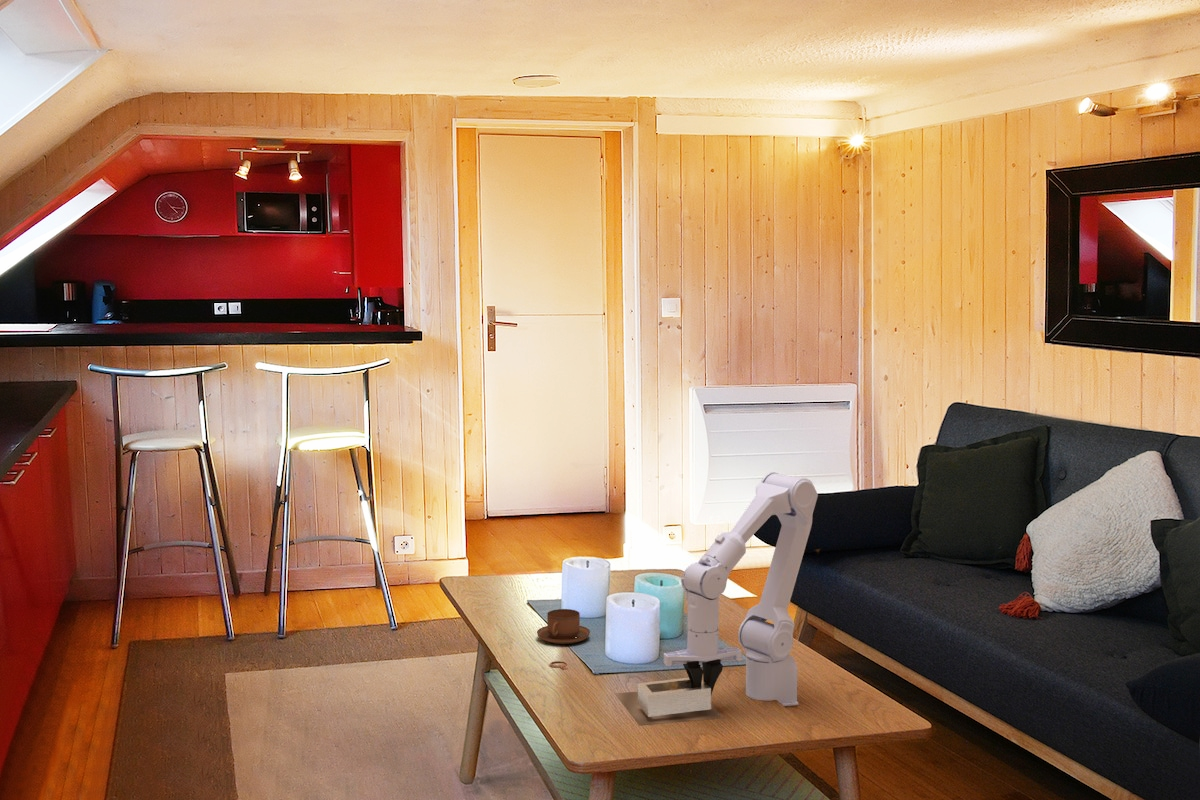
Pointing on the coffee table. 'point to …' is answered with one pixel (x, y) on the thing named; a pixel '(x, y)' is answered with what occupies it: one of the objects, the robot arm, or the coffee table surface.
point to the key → (559, 665)
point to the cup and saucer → (563, 627)
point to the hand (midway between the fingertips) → (702, 700)
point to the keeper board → (642, 719)
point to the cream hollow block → (673, 697)
